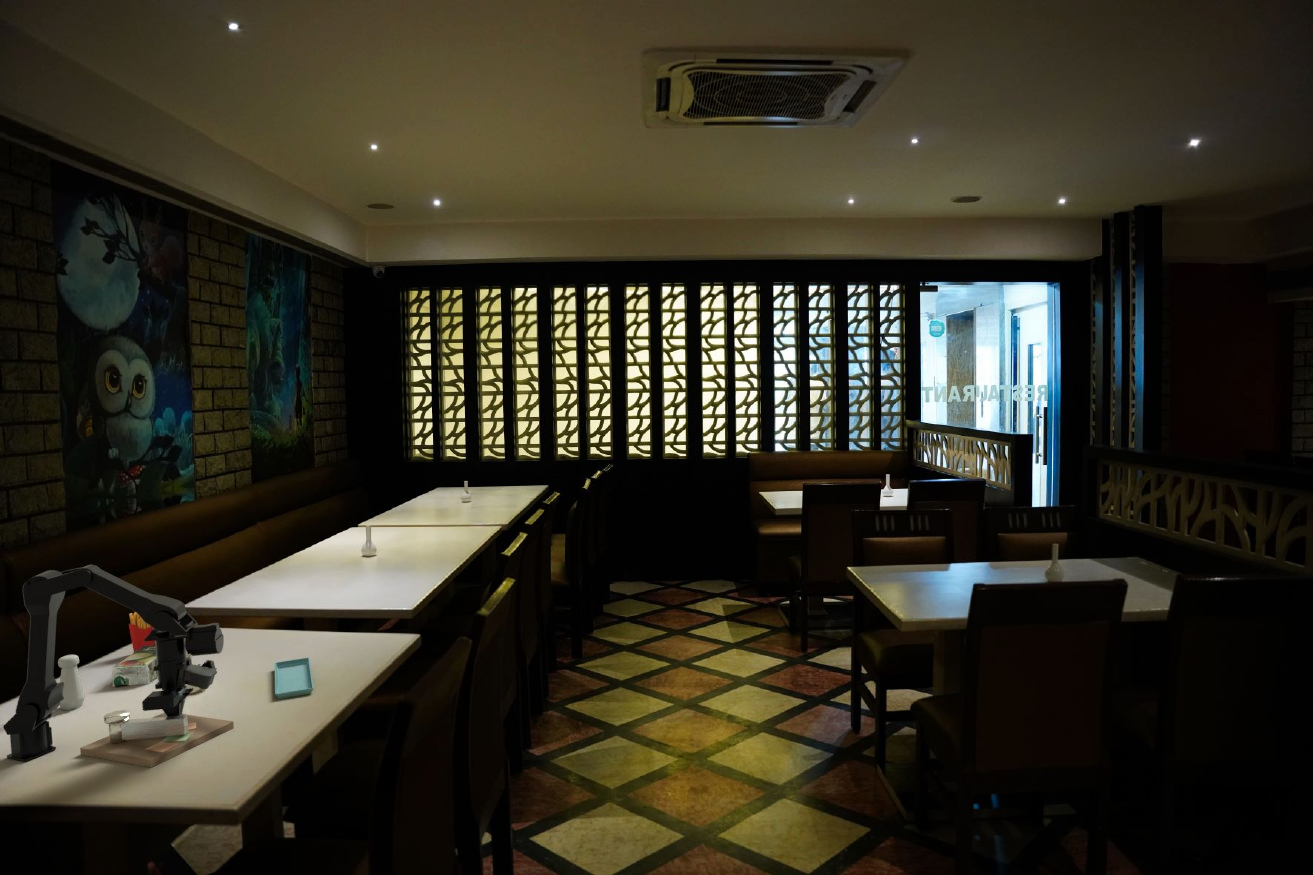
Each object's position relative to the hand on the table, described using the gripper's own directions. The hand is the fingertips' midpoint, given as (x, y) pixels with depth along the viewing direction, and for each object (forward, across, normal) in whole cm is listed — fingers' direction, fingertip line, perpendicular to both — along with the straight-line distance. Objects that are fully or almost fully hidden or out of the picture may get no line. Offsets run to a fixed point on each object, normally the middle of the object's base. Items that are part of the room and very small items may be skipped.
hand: (176, 724), depth 188 cm
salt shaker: (+4, +27, +34) cm, 44 cm away
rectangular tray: (+4, +33, -17) cm, 38 cm away
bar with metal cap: (+1, -2, +5) cm, 6 cm away
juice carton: (+4, +50, +26) cm, 57 cm away
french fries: (+4, +71, +33) cm, 78 cm away
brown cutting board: (+3, 0, +4) cm, 5 cm away
